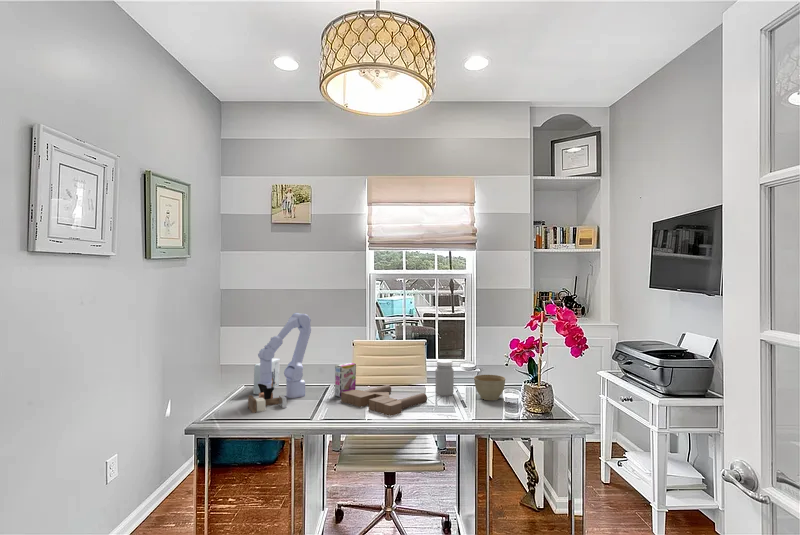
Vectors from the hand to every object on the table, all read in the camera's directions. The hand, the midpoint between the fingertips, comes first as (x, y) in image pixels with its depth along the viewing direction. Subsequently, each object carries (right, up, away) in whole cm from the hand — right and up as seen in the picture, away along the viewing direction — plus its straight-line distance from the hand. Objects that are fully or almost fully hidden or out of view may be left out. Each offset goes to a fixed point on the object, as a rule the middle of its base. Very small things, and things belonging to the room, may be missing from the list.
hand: (265, 399), depth 234 cm
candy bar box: (+38, -2, +16) cm, 41 cm away
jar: (+91, -2, +17) cm, 93 cm away
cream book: (+1, -1, -14) cm, 14 cm away
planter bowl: (+114, -2, +10) cm, 115 cm away
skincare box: (-7, -2, +26) cm, 27 cm away
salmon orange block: (0, -2, 0) cm, 2 cm away
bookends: (+60, -3, +2) cm, 60 cm away
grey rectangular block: (+11, -1, -9) cm, 14 cm away
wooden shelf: (+5, -2, -11) cm, 12 cm away
